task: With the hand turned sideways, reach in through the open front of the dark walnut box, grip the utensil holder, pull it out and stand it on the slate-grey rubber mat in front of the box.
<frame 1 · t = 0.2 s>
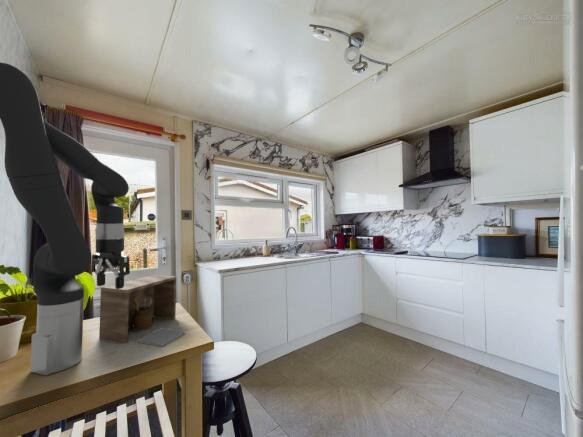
hand: (110, 286, 80), 18 cm above the table, tool pointing down, fingers open, 8 cm apart
open box: (141, 327, 90), on the table
utensil holder: (142, 328, 90), on the table
grey mat: (162, 337, 82), on the table
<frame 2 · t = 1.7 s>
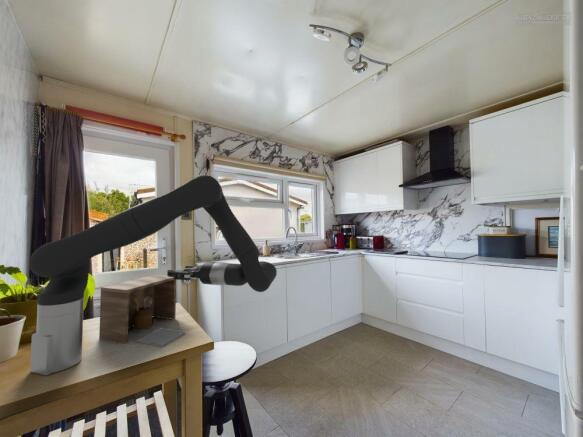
hand: (177, 270, 86), 22 cm above the table, tool horizontal, fingers open, 8 cm apart
nothing on the table moved.
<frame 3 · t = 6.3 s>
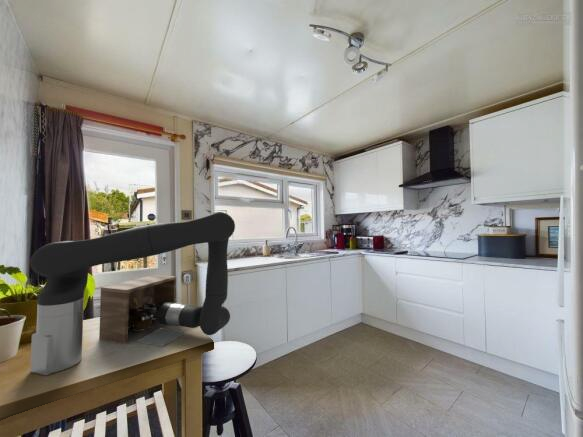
hand: (137, 309, 91), 7 cm above the table, tool horizontal, fingers closed on utensil holder, 5 cm apart
utensil holder: (142, 328, 90), on the table, touching gripper
everything else where it was.
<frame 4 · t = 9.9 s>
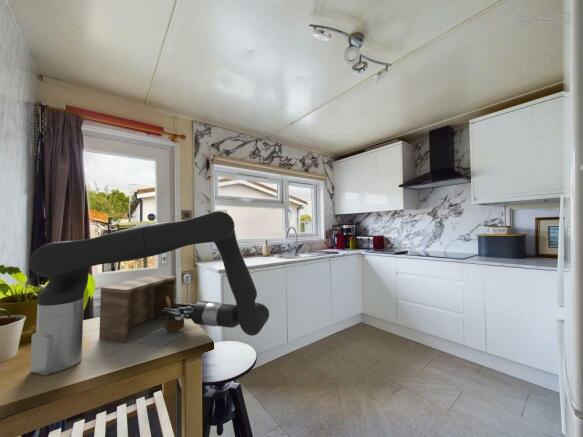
hand: (169, 308, 87), 8 cm above the table, tool horizontal, fingers closed on utensil holder, 5 cm apart
utensil holder: (174, 328, 86), point 1 cm above the table, touching gripper
everything else where it was.
when the fingers open (8 cm above the table, at t = 13.8 s): utensil holder moves 1 cm, on the table.
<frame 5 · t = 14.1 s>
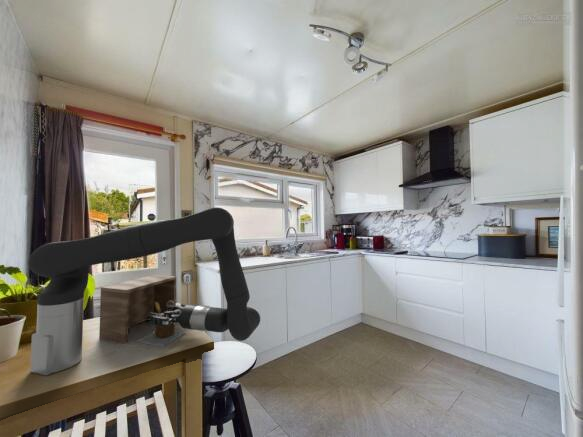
hand: (157, 312, 83), 8 cm above the table, tool horizontal, fingers open, 7 cm apart
utensil holder: (164, 335, 83), on the table, touching gripper
everything else where it was.
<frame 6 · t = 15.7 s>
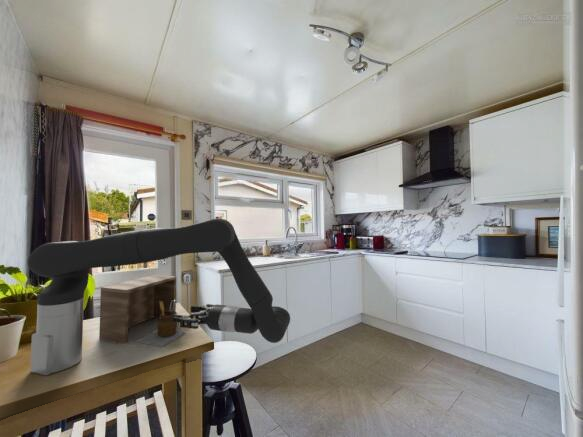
hand: (182, 313, 81), 9 cm above the table, tool horizontal, fingers open, 8 cm apart
utensil holder: (166, 334, 84), point 1 cm above the table, touching grey mat
everything else where it was.
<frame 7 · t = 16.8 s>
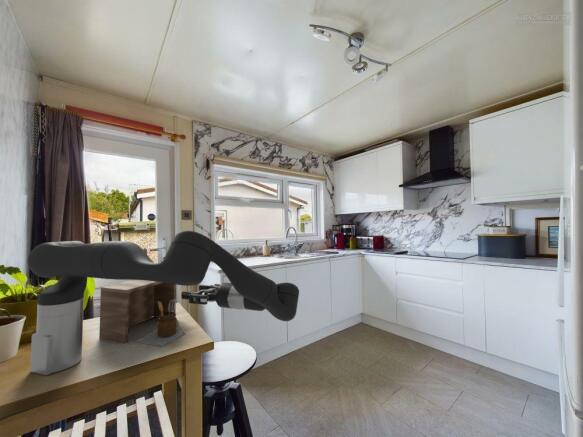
hand: (191, 291, 80), 16 cm above the table, tool horizontal, fingers open, 8 cm apart
nothing on the table moved.
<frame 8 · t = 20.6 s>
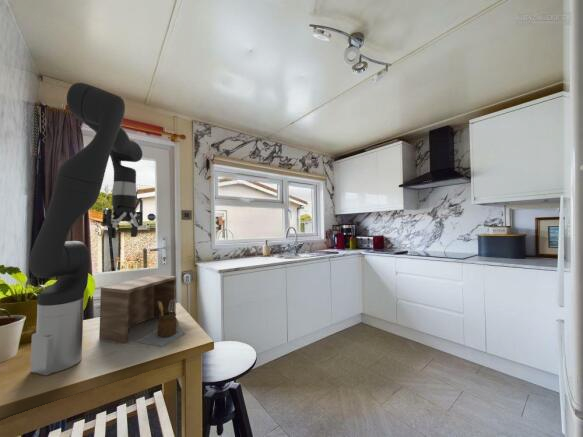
hand: (123, 237, 92), 33 cm above the table, tool pointing down, fingers open, 8 cm apart
nothing on the table moved.
at the end: utensil holder 1.4 cm off-centre on the grey mat, point 0.4 cm above the grey mat's base; utensil holder tilted 0°; the gripper is holding nothing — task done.
